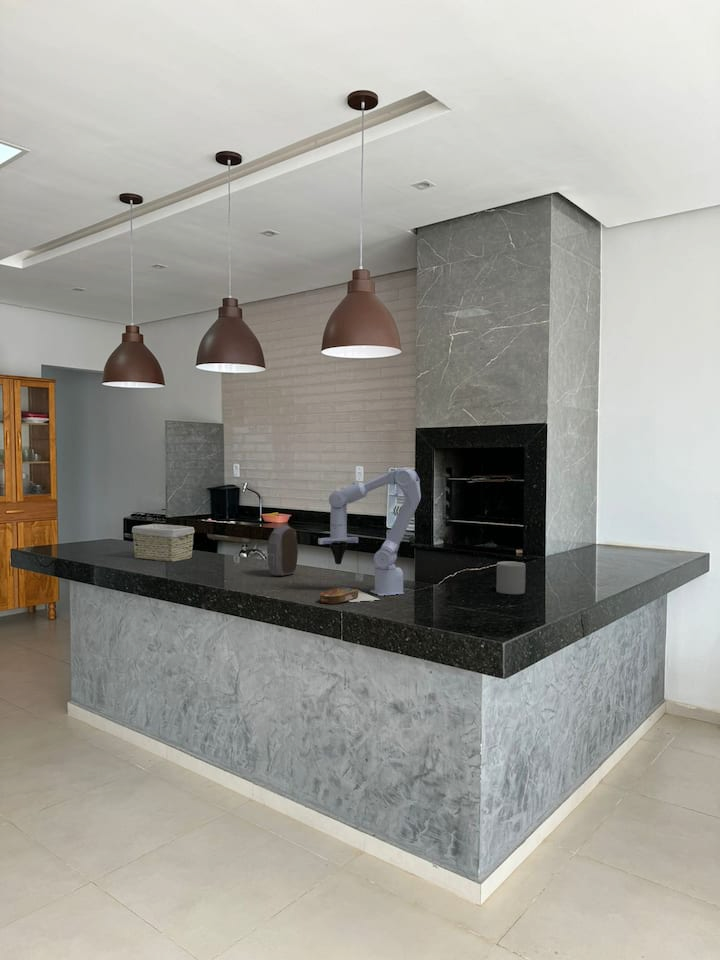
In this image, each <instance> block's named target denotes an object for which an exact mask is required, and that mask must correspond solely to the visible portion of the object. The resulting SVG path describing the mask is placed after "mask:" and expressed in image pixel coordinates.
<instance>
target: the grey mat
mask: <svg viewBox="0 0 720 960" xmlns="http://www.w3.org/2000/svg"><path fill="white" fill-rule="evenodd" d="M374 600H380V601H381V599H380V598H378V597H375V596H373V595H371V594H368V593H366V592H363V591H361V590H359V589H358V597H357V598H355V599H352V600H349V602H348V603H350V602H358V603H361V602H360V601H370V602H375V601H374Z"/></svg>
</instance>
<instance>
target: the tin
mask: <svg viewBox="0 0 720 960" xmlns="http://www.w3.org/2000/svg"><path fill="white" fill-rule="evenodd" d="M358 590H359V588H358V587H354V586H342V587H336V588H333V589H329V590H326V591H323V592H320V593H319V600H320V602H321V603H324V604H330V605H332V604H333V605H335V604H342V603H345V602H347V601H349V600H352V599H355V598H357V597H358Z"/></svg>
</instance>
